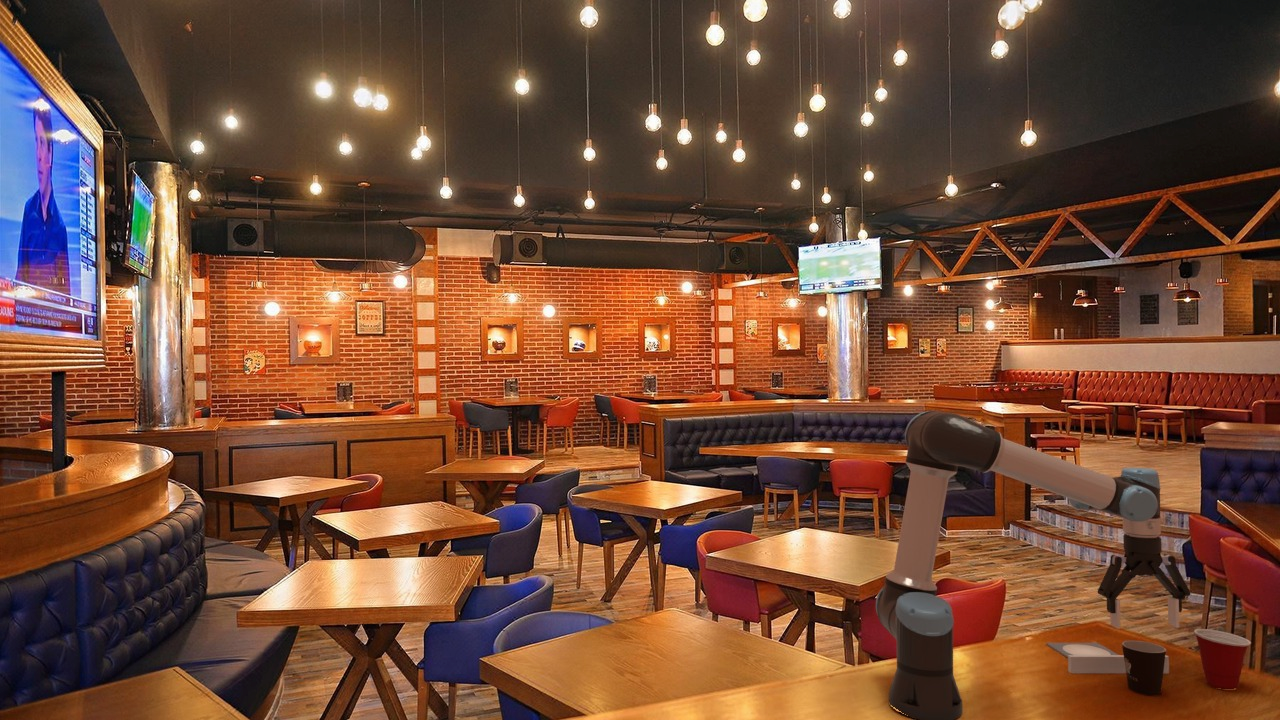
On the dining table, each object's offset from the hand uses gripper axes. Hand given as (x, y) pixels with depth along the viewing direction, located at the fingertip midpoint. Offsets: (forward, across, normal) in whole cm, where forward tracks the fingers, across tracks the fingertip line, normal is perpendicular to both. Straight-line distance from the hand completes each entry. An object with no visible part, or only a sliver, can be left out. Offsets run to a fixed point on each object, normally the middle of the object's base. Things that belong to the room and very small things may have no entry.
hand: (1144, 626), depth 185 cm
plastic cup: (+15, +18, +1) cm, 24 cm away
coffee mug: (+14, 0, 0) cm, 14 cm away
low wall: (+14, 0, +10) cm, 17 cm away
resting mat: (+14, 0, +24) cm, 28 cm away
